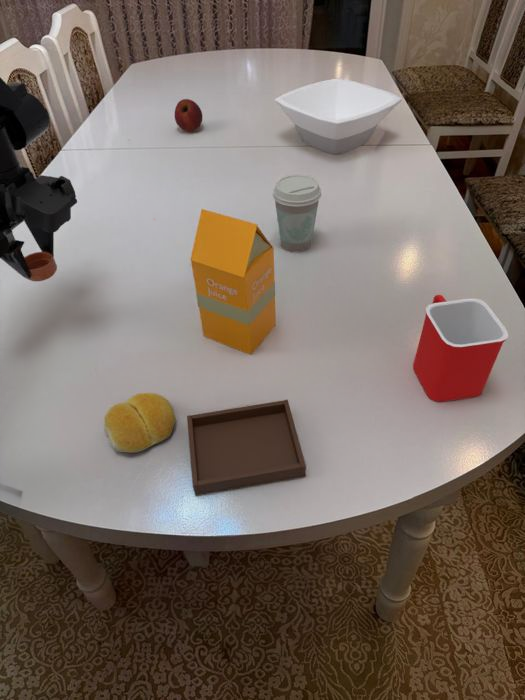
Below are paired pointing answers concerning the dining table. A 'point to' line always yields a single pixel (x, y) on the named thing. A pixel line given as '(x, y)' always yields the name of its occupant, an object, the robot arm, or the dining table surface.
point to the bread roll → (139, 422)
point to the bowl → (337, 113)
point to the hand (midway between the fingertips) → (39, 267)
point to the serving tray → (244, 447)
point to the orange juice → (233, 281)
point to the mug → (457, 348)
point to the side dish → (41, 265)
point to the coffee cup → (296, 210)
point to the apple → (188, 115)
